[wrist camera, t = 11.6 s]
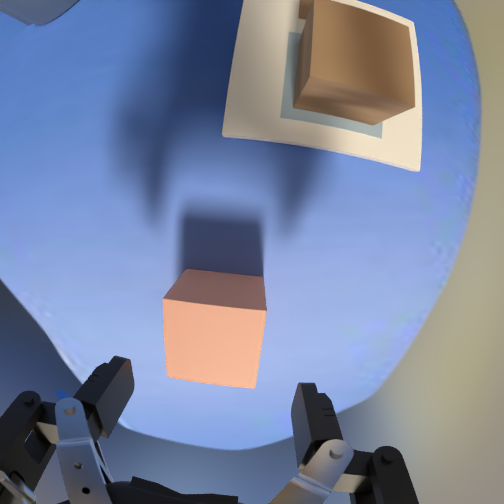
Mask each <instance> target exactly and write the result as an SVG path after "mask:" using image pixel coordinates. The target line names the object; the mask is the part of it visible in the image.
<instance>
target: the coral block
mask: <svg viewBox="0 0 504 504" xmlns="http://www.w3.org/2000/svg"><path fill="white" fill-rule="evenodd" d="M266 312H267V309H266V298H265V287H264V277H261V276H251V275H241V274H232V273H222V272H213V271H204V270H195V269H186V270H185V271H184V272H183V273H182V275H181V276H180V277H179V278H178V280H177V281H176V282H175V283H174V285H173V286H172V287H171V289H170V290H169V291H168V293H167V294H166V295H165V296H164V298H163V322H164V342H165V357H166V370H167V377H170V378H176V379H181V380H187V381H193V382H200V383H207V384H215V385H223V386H232V387H242V388H255V386H256V380H257V373H258V367H259V360H260V354H261V347H262V340H263V333H264V326H265V319H266Z"/></svg>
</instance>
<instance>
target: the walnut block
mask: <svg viewBox="0 0 504 504" xmlns="http://www.w3.org/2000/svg"><path fill="white" fill-rule="evenodd" d="M414 107H415V84H414V68H413V57H412V47H411V40H410V32H409V27H408V26H406V25H403V24H401V23H399V22H396V21H394V20H391V19H389V18H386V17H384V16H381V15H378V14H375V13H373V12H370V11H367V10H364V9H361V8H357V7H354V6H351V5H347V4H343V3H340V2H336V1H332V0H313V1H312V4H311V7H310V10H309V13H308V16H307V19H306V22H305V25H304V28H303V31H302V34H301V37H300V40H299V51H298V63H297V74H296V85H295V95H294V105H293V108H294V109H301V110H306V111H312V112H317V113H322V114H327V115H332V116H336V117H341V118H345V119H349V120H353V121H357V122H361V123H365V124H369V125H372V126H373V125H375V124H378V123H380V122H382V121H384V120H387V119H389V118H391V117H393V116H396V115H398V114H400V113H403V112H405V111H407V110H410V109H412V108H414Z"/></svg>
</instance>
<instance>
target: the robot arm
mask: <svg viewBox="0 0 504 504" xmlns="http://www.w3.org/2000/svg"><path fill="white" fill-rule="evenodd" d="M77 1H78V0H0V11H1V12H3V13H5V14H7V15H9V16H11V17H13V18H15V19H17V20H19V21H21V22H23V23H25V24H27V25H29V24H31V23H33V24H35V25H43V24H46V23H48V22H50V21H52V20H54V19H55V18H57V17H58V16H60V15H61V14H63V13H64V12H65V11H66V10H68V9H69V8H70V7H71V6H72V5H74V4H75V3H76V2H77ZM133 391H134V378H133V372H132V366H131V361H130V359H127V358H123V357H119V356H114V357H113V358H112V359H111V361H110V362H109V363H103V364H101V365H100V366H98V367H96V369H95V370H94V371H93V372H92V375H90V376H89V377H88V380H86V381H85V382H84V384H83V385H82V386H81V388H80V389H79V390H78V391H77V393H76V394H75V395H74V397H73V398H64V399H61V400H60V401H58V402H57V404H56V403H50V402H44V401H42V400H41V398H40V396H39V394H37V393H36V392H34V391H25V392H22V393H21V394H19V395H18V397H17V398H16V399H15V400H14V401H13V403H12V404H11V405H10V406H9V408H8V409H7V410H6V411H5V413H4V414H3V415H2V416H1V418H0V504H36V497H35V494H34V490H35V488H36V486H37V484H38V482H39V480H40V478H41V476H42V474H43V472H44V470H45V468H46V466H47V464H48V462H49V460H50V459H51V457H52V455H53V453H54V451H55V449H56V448H57V453H58V458H59V462H60V468H61V471H62V476H63V480H64V483H65V487H66V491H67V494H68V498H69V500H66V501H64V502H61V503H58V504H243V503H240V502H238V496H228V495H218V494H180V493H178V492H175V491H173V490H171V489H169V488H167V487H164V486H162V485H160V484H158V483H155V482H151V481H147V480H144V479H141V478H137V477H134V476H133V477H132V480H131V482H130V481H120V482H114V481H113V479H112V477H111V475H110V473H109V471H108V469H107V466H106V463H105V460H104V457H103V454H102V452H101V448H100V445H99V442H98V439H99V437H100V436H103V437H106V438H109V436H110V434H111V432H112V430H113V429H114V427H115V425H116V423H117V421H118V419H119V417H120V416H121V414H122V412H123V410H124V408H125V406H126V404H127V403H128V401H129V399H130V397H131V395H132V394H133ZM291 418H292V426H293V434H294V441H295V450H296V457H297V466H298V469H303V470H302V471H301V472H300V473H299V474H298V476H295V477H294V478H293V479H292V480H291V481H290V482H289V483H288V484H287V485H286V486H285V487H284V488H283V490H282V491H281V492H280V493H279V494H278V495H277V496H276V497H275V498H274V499H273V500H272V501H271V502H270V503H269V504H323V503H324V501H325V499H326V498H327V497H328V496H329V494H330V493H331V490H334V491H341V492H349V495H350V500H351V504H419V502H418V499H417V496H416V493H415V490H414V487H413V485H412V482H411V479H410V476H409V473H408V470H407V468H406V465H405V462H404V459H403V457H402V454H401V453H400V452H399V450H397V449H396V448H394V447H391V446H382V447H379V448H378V449H376V450H375V452H374V453H371V452H363V451H357V450H354V449H353V448H352V447H351V446H350V444H348V443H347V442H345V441H344V440H343V437H342V434H341V430H340V427H339V424H338V421H337V417H336V414H335V411H334V408H333V405H332V401H331V400H330V398H329V397H328V396H327V395H326V394H325V393H318V392H317V388H316V385H315V383H298V385H297V389H296V393H295V396H294V400H293V403H292V408H291ZM31 431H32V432H31ZM30 432H31V434H30ZM29 434H30V435H29ZM28 435H29V437H28ZM27 437H28V439H27V440H26V438H27ZM25 440H26V442H25ZM24 442H25V443H24Z"/></svg>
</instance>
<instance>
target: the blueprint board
mask: <svg viewBox="0 0 504 504" xmlns="http://www.w3.org/2000/svg"><path fill="white" fill-rule="evenodd" d="M312 1H313V0H244V1H243V6H242V11H241V16H240V22H239V27H238V32H237V38H236V44H235V49H234V55H233V61H232V67H231V73H230V80H229V86H228V93H227V100H226V107H225V114H224V122H223V129H222V135H223V137H228V138H240V139H250V140H260V141H268V142H276V143H283V144H290V145H297V146H303V147H310V148H315V149H321V150H326V151H332V152H337V153H342V154H346V155H351V156H356V157H360V158H364V159H369V160H373V161H377V162H381V163H385V164H388V165H392V166H396V167H399V168H403V169H406V170H410V171H420V162H421V144H422V92H421V76H420V64H419V55H418V47H417V40H416V33H415V27H414V22H412V21H410V20H407V19H405V18H403V17H401V16H398V15H396V14H393V13H391V12H388V11H386V10H383V9H380V8H378V7H375V6H372V5H369V4H366V3H363V2H360V1H357V0H332V1H336V2H340V3H343V4H347V5H351V6H354V7H357V8H361V9H364V10H367V11H370V12H373V13H375V14H378V15H381V16H384V17H386V18H389V19H391V20H394V21H396V22H399V23H401V24H403V25H406V26H408V27H409V32H410V40H411V47H412V57H413V68H414V84H415V107H414V108H412V109H410V110H407V111H405V112H403V113H400V114H398V115H396V116H393V117H391V118H389V119H387V120H384V121H382V122H380V123H378V124H375V125H373V126H372V125H369V124H365V123H361V122H357V121H353V120H349V119H345V118H341V117H336V116H332V115H327V114H322V113H317V112H312V111H306V110H301V109H294V108H293V105H294V95H295V85H296V74H297V63H298V51H299V40H300V37H301V34H302V31H303V28H304V25H305V22H306V19H307V16H308V13H309V10H310V7H311V4H312Z"/></svg>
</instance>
